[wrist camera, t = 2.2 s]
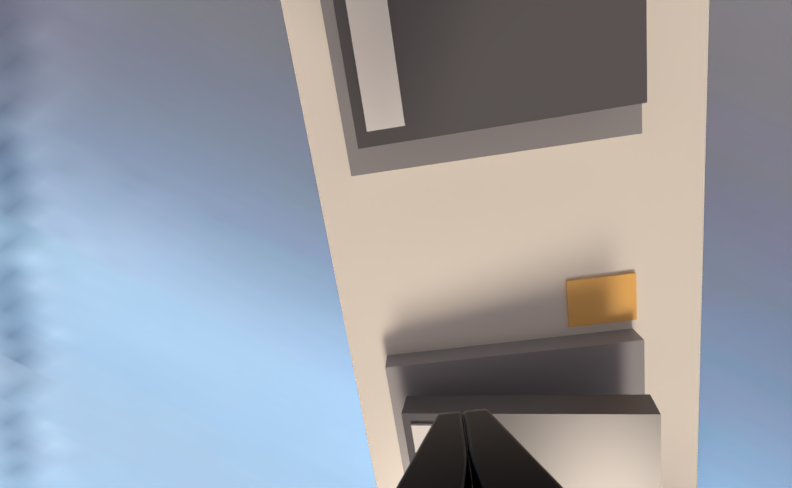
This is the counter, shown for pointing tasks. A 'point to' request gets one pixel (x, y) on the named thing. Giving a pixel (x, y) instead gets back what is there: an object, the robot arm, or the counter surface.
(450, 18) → the rocker
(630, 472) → the rocker
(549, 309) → the switch panel
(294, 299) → the counter surface
